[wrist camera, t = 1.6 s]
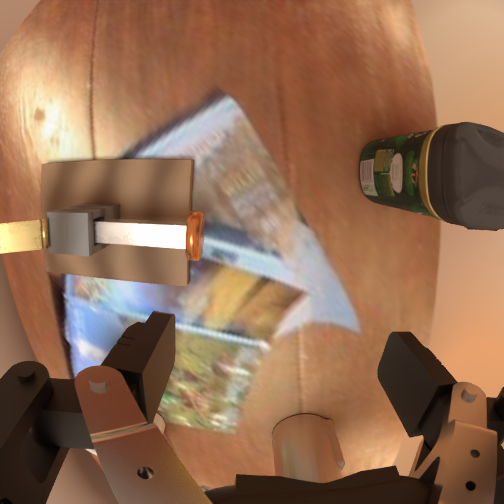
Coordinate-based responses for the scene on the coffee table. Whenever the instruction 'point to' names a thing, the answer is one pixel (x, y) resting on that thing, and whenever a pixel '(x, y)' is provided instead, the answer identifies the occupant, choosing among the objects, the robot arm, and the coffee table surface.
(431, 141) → the coffee jar
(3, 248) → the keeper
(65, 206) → the wooden base
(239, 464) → the coffee table surface
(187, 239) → the pin
